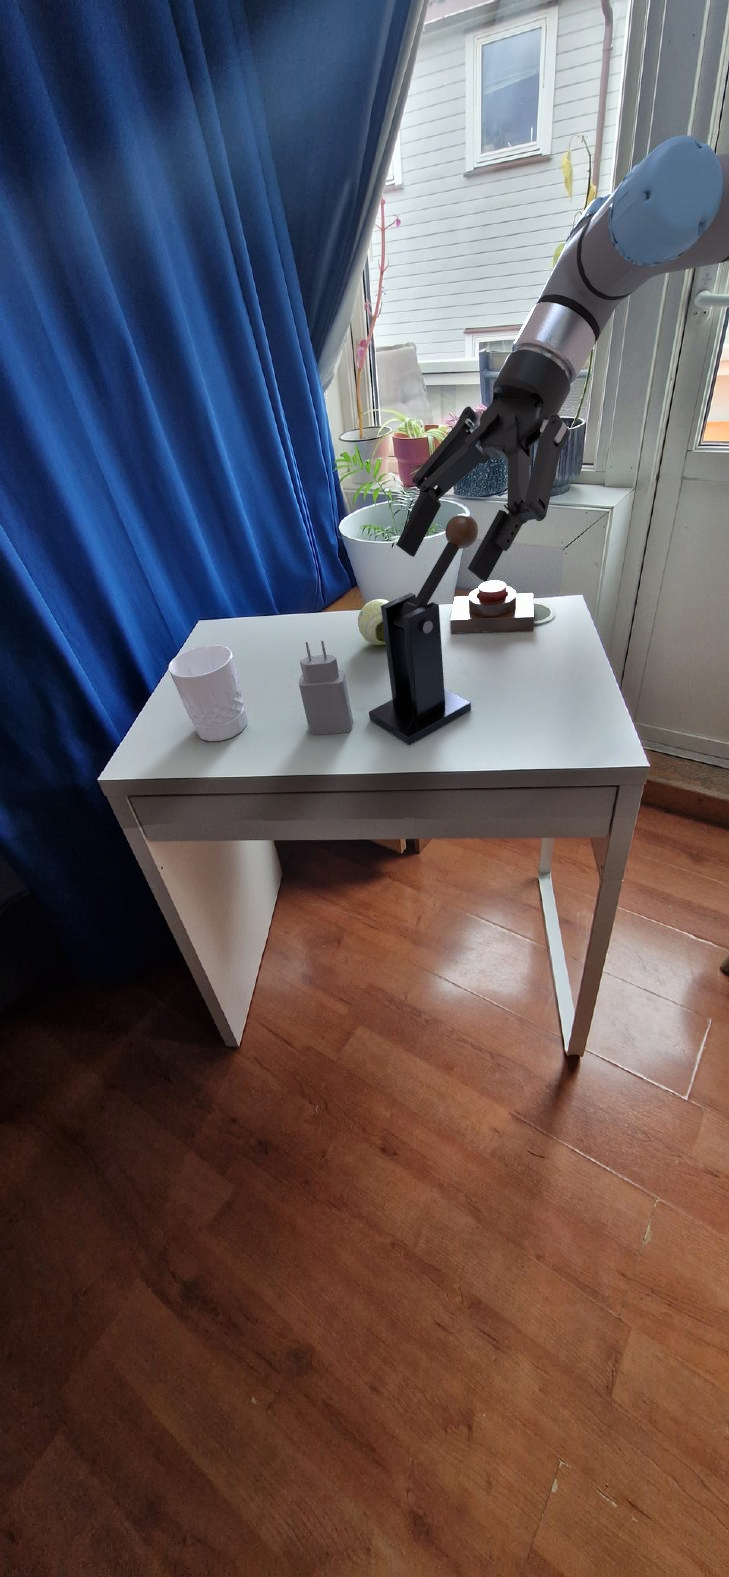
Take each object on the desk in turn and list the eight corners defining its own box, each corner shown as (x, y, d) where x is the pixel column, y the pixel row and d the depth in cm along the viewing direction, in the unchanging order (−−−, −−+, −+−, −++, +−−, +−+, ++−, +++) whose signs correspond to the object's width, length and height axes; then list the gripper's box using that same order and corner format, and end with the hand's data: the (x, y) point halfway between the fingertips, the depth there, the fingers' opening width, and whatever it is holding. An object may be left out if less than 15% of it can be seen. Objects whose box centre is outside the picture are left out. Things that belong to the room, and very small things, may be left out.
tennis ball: (359, 636, 101) (353, 595, 97) (402, 629, 101) (398, 588, 96) (362, 655, 96) (356, 613, 92) (407, 649, 96) (403, 606, 91)
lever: (467, 522, 74) (450, 504, 72) (490, 528, 72) (473, 510, 69) (403, 632, 76) (385, 619, 74) (423, 642, 74) (405, 628, 71)
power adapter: (312, 721, 84) (293, 637, 77) (353, 718, 83) (338, 633, 76) (308, 735, 82) (289, 649, 74) (351, 732, 81) (335, 645, 73)
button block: (533, 606, 101) (533, 581, 98) (533, 630, 95) (534, 605, 92) (455, 609, 103) (453, 585, 101) (450, 633, 97) (449, 608, 95)
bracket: (429, 687, 87) (420, 580, 77) (471, 710, 81) (467, 598, 72) (369, 719, 83) (352, 610, 73) (409, 745, 77) (396, 631, 68)
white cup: (257, 708, 88) (238, 642, 82) (243, 743, 82) (222, 674, 76) (202, 712, 90) (179, 646, 83) (185, 746, 84) (159, 679, 77)
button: (506, 591, 98) (506, 579, 97) (505, 602, 95) (505, 591, 94) (479, 592, 99) (479, 581, 98) (478, 604, 96) (477, 592, 95)
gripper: (652, 399, 63) (536, 605, 67) (480, 388, 79) (394, 555, 83) (623, 345, 58) (499, 572, 62) (445, 345, 74) (354, 525, 77)
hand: (438, 562), depth 72 cm, fingers open, 11 cm apart
